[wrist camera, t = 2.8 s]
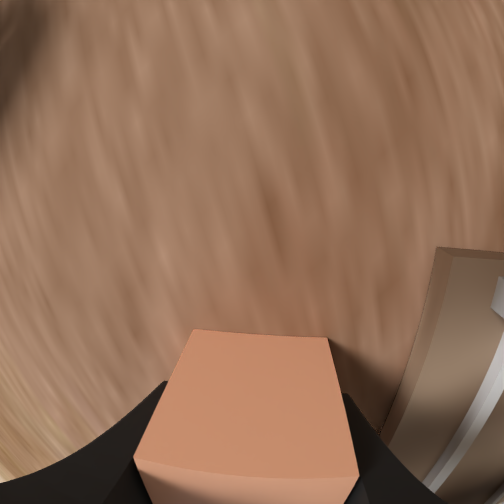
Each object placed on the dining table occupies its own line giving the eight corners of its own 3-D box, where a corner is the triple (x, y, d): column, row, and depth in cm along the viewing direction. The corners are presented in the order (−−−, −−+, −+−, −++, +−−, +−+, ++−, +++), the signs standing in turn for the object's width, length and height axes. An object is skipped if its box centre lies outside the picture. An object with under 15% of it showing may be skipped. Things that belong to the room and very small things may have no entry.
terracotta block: (308, 426, 10) (316, 544, 5) (199, 419, 10) (166, 532, 5) (326, 337, 9) (358, 475, 4) (193, 328, 9) (133, 456, 4)
